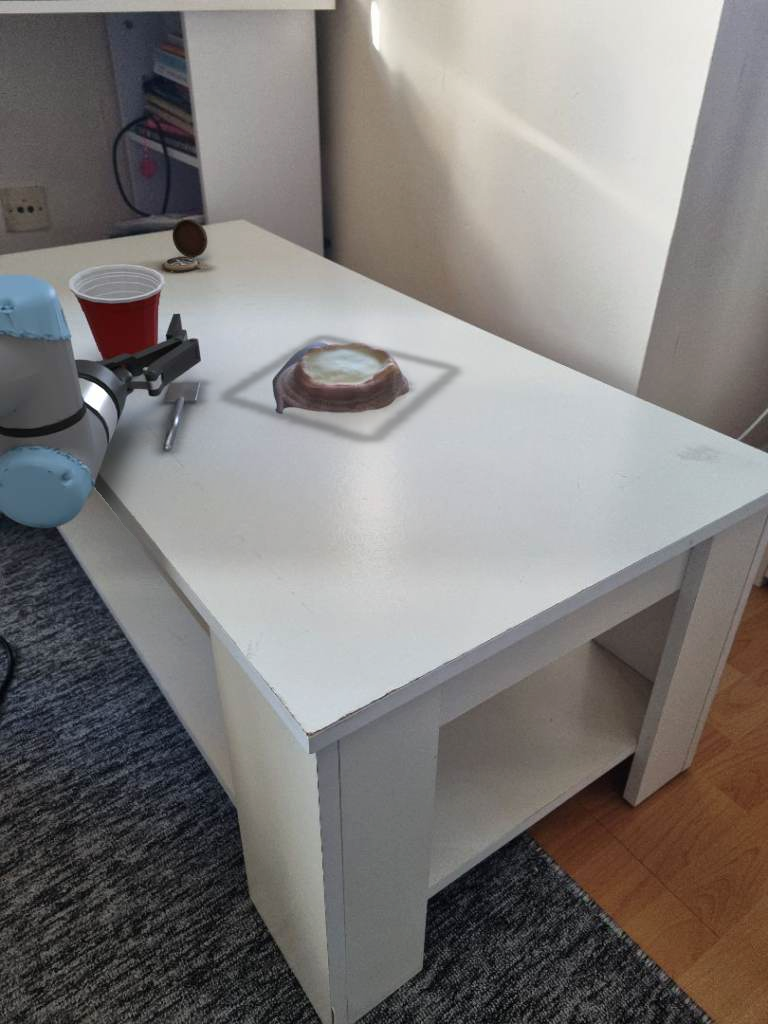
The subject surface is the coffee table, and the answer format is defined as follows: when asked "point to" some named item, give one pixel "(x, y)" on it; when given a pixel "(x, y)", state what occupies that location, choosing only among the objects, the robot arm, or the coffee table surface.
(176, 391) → the metal spatula
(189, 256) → the compass
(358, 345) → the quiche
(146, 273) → the plastic cup
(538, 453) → the coffee table surface
